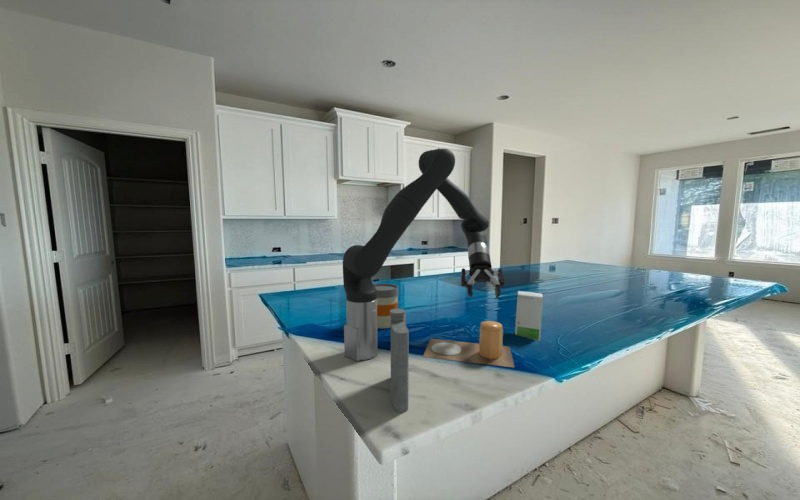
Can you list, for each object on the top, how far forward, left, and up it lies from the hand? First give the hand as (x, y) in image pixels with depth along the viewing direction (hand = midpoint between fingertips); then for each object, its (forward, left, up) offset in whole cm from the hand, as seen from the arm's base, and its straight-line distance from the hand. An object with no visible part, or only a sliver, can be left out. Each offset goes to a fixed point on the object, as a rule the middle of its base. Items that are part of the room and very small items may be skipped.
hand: (484, 296), depth 100 cm
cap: (-9, -7, -14) cm, 19 cm away
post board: (-12, -1, -16) cm, 20 cm away
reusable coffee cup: (-9, +38, -16) cm, 42 cm away
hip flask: (-40, +2, -16) cm, 43 cm away
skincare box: (+16, -9, -16) cm, 24 cm away
